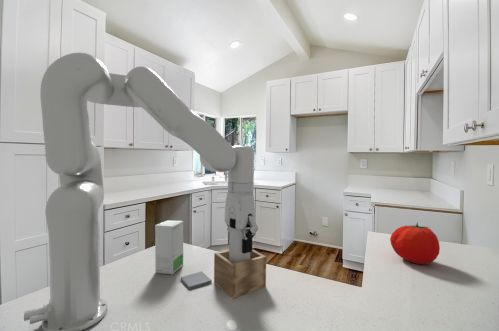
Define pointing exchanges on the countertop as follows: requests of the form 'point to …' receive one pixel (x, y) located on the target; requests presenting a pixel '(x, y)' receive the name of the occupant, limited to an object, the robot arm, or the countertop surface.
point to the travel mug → (236, 243)
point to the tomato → (415, 244)
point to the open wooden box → (239, 273)
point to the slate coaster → (195, 280)
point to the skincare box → (168, 246)
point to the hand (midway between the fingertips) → (239, 247)
